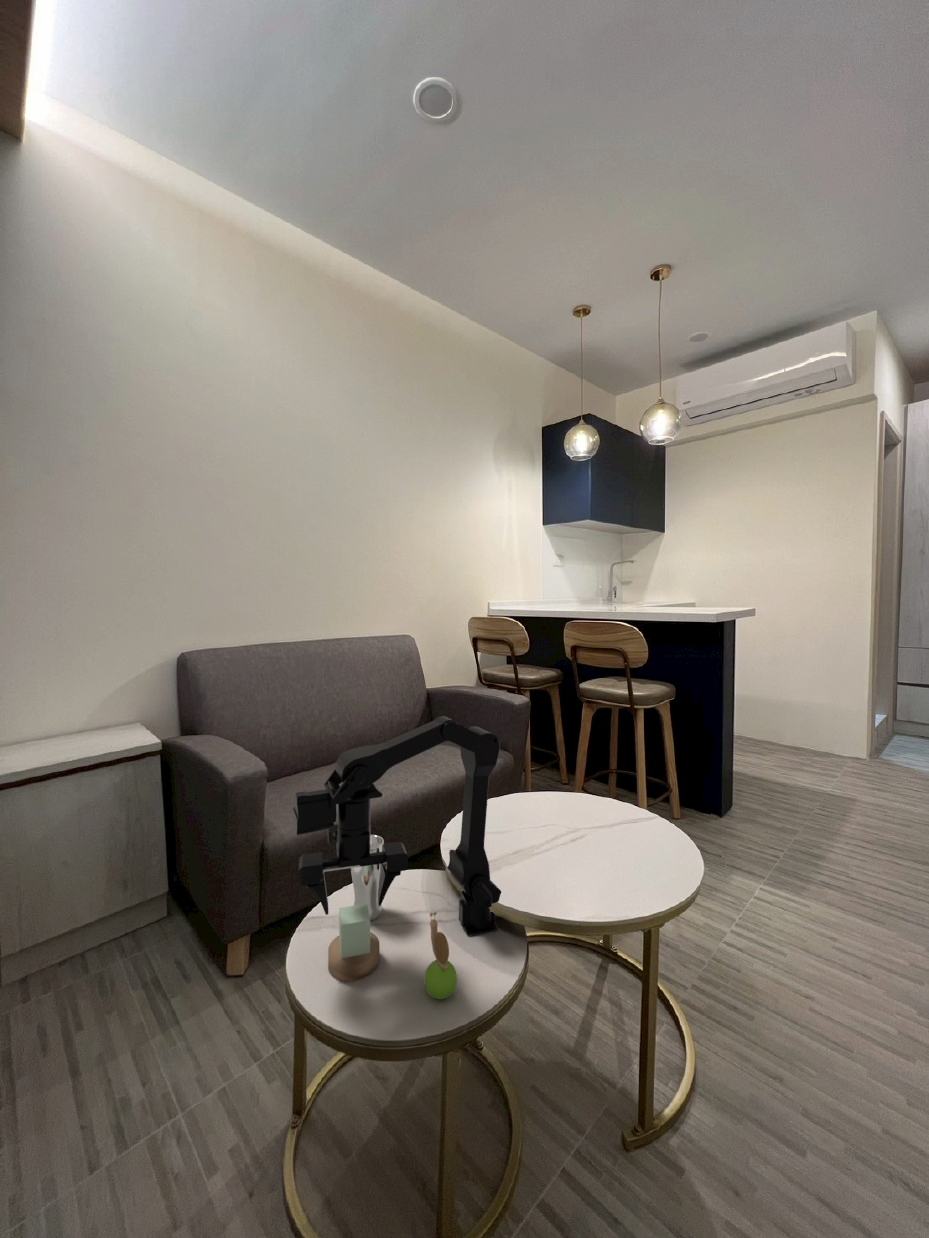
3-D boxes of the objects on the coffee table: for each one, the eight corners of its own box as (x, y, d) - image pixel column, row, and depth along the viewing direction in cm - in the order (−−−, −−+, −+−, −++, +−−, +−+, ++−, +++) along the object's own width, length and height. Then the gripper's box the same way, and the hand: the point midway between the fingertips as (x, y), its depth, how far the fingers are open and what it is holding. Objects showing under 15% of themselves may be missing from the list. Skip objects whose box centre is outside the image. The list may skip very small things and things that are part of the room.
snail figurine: (445, 974, 88) (446, 907, 87) (462, 1000, 82) (463, 928, 81) (417, 984, 85) (417, 915, 85) (432, 1012, 79) (432, 938, 79)
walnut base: (375, 941, 96) (376, 926, 96) (382, 975, 87) (382, 958, 87) (327, 950, 93) (327, 934, 93) (329, 986, 84) (329, 969, 84)
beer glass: (351, 925, 100) (351, 852, 100) (349, 905, 107) (349, 836, 106) (386, 919, 102) (386, 847, 102) (382, 899, 109) (382, 832, 108)
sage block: (366, 934, 93) (367, 903, 93) (370, 952, 88) (370, 919, 88) (339, 939, 92) (339, 907, 91) (341, 958, 87) (341, 924, 87)
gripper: (398, 800, 100) (397, 877, 100) (299, 810, 94) (299, 892, 94) (409, 824, 89) (408, 910, 89) (298, 837, 83) (298, 929, 84)
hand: (353, 908), depth 90 cm, fingers open, 9 cm apart
